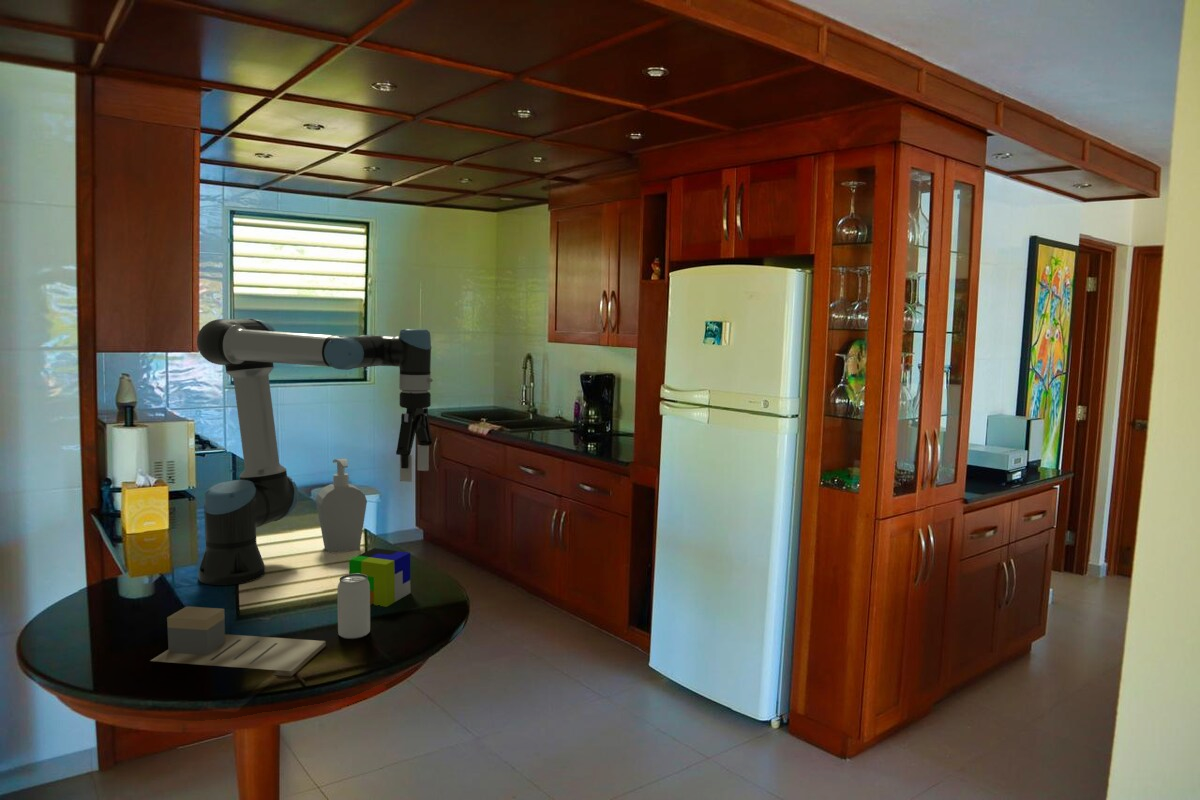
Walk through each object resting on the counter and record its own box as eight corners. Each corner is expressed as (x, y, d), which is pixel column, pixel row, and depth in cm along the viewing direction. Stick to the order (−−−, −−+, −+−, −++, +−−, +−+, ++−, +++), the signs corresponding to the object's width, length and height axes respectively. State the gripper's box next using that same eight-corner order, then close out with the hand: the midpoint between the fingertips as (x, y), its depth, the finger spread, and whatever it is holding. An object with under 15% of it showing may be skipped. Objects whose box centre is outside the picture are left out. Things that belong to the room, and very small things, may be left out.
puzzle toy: (410, 593, 195) (410, 552, 194) (386, 607, 186) (386, 564, 185) (374, 587, 199) (374, 548, 198) (349, 601, 189) (349, 559, 188)
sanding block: (168, 652, 157) (167, 617, 156) (187, 640, 163) (186, 606, 162) (207, 655, 156) (206, 620, 155) (225, 642, 162) (224, 608, 161)
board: (150, 665, 153) (149, 660, 153) (195, 636, 167) (195, 632, 167) (291, 676, 150) (291, 671, 150) (325, 645, 164) (325, 641, 163)
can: (342, 627, 173) (341, 573, 172) (373, 627, 174) (372, 572, 172) (334, 639, 167) (333, 583, 165) (366, 639, 167) (366, 582, 166)
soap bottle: (323, 556, 222) (322, 463, 220) (316, 547, 231) (314, 457, 228) (369, 551, 228) (368, 460, 226) (360, 542, 237) (359, 454, 234)
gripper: (414, 396, 189) (413, 486, 191) (443, 387, 213) (443, 466, 216) (382, 395, 189) (382, 485, 191) (416, 386, 214) (415, 465, 216)
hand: (414, 475), depth 204 cm, fingers open, 13 cm apart
